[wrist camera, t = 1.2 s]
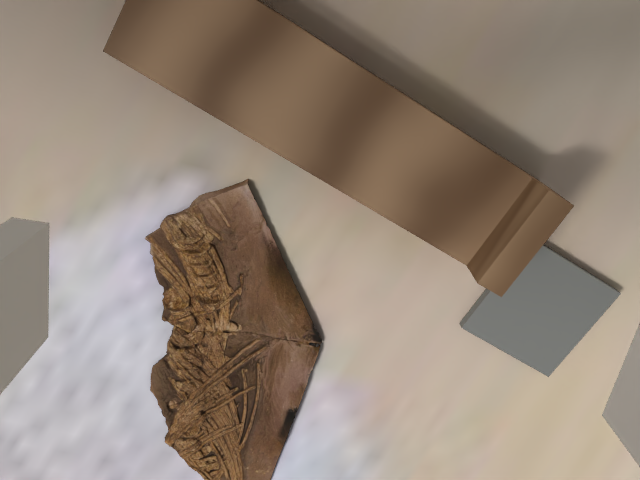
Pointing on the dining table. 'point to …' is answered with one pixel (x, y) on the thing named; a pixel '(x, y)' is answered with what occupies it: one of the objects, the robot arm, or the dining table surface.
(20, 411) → the dining table surface
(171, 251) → the wooden fragment
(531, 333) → the mat
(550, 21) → the dining table surface
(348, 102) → the plank
